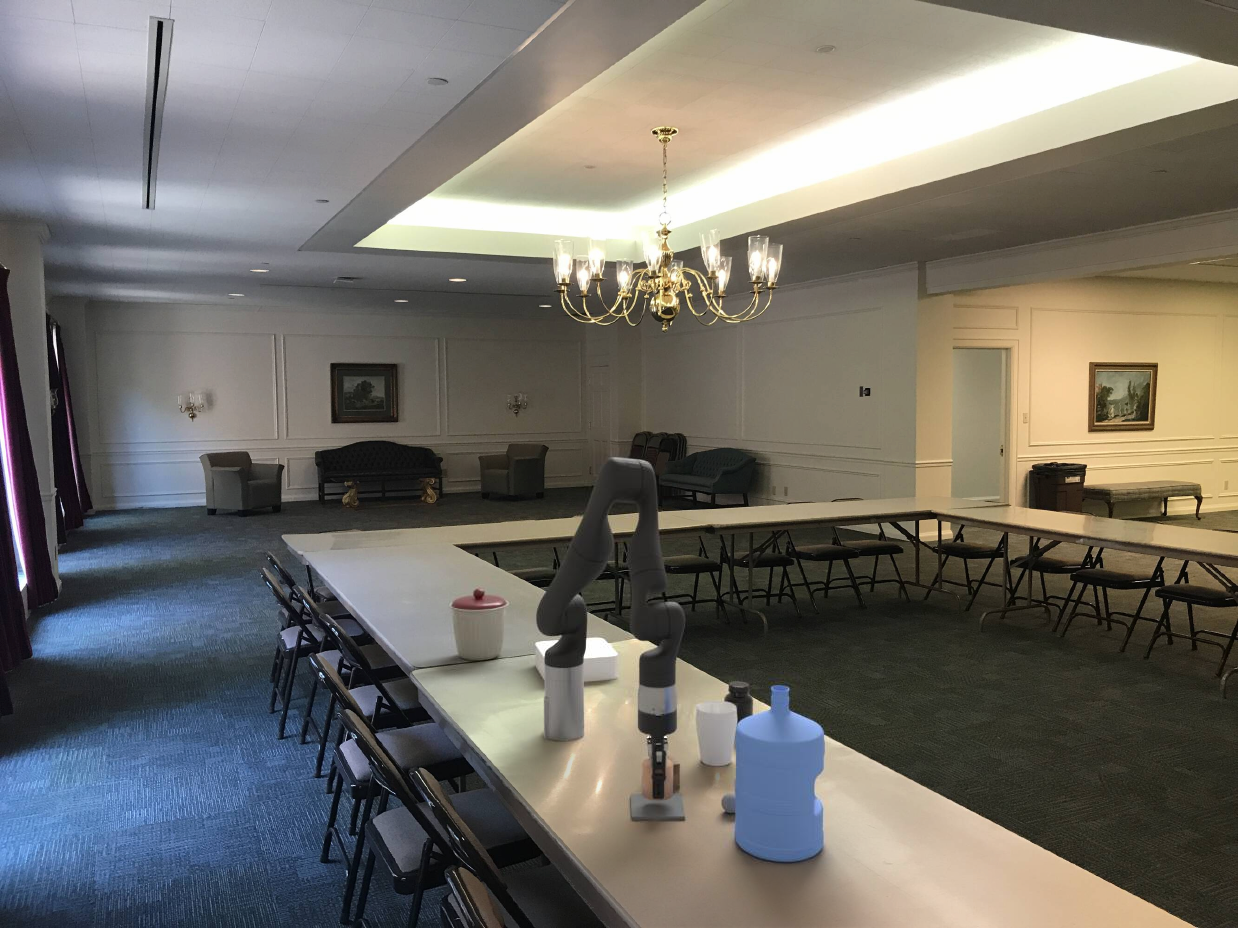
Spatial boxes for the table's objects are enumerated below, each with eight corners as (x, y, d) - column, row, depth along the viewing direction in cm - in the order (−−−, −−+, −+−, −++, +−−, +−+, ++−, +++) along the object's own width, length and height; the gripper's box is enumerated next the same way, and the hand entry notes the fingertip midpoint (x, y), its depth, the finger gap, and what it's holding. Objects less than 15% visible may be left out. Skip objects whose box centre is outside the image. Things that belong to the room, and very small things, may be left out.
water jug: (765, 872, 152) (766, 707, 150) (718, 831, 166) (719, 681, 164) (841, 853, 158) (844, 695, 156) (790, 815, 173) (791, 670, 171)
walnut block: (656, 790, 184) (656, 766, 184) (649, 780, 189) (649, 757, 189) (679, 787, 185) (679, 763, 185) (671, 778, 190) (672, 754, 190)
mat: (631, 819, 171) (631, 816, 171) (630, 796, 181) (630, 793, 181) (684, 819, 171) (684, 816, 171) (681, 796, 181) (681, 793, 181)
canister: (443, 652, 285) (442, 585, 284) (499, 645, 293) (498, 580, 291) (458, 667, 269) (457, 597, 268) (517, 660, 277) (516, 591, 275)
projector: (625, 679, 258) (625, 655, 258) (546, 685, 253) (546, 661, 252) (606, 658, 279) (606, 636, 278) (534, 664, 273) (533, 641, 272)
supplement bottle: (751, 740, 211) (752, 689, 210) (722, 737, 212) (722, 687, 212) (753, 729, 218) (754, 680, 217) (724, 727, 219) (725, 678, 218)
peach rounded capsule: (642, 800, 173) (642, 769, 173) (641, 787, 179) (641, 757, 179) (674, 800, 173) (674, 769, 173) (672, 787, 179) (672, 757, 179)
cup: (710, 771, 193) (710, 716, 192) (687, 757, 201) (687, 703, 200) (745, 763, 197) (745, 709, 196) (721, 749, 205) (722, 697, 204)
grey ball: (722, 816, 172) (722, 797, 172) (720, 807, 176) (720, 789, 176) (741, 816, 172) (741, 797, 172) (738, 807, 176) (739, 789, 176)
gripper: (636, 693, 182) (637, 775, 183) (638, 718, 168) (639, 807, 169) (674, 693, 182) (674, 775, 183) (679, 718, 168) (679, 807, 169)
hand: (657, 790), depth 176 cm, fingers closed on peach rounded capsule, 6 cm apart
